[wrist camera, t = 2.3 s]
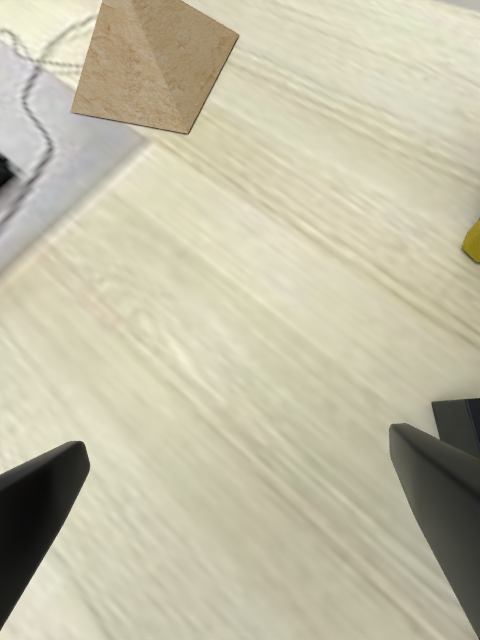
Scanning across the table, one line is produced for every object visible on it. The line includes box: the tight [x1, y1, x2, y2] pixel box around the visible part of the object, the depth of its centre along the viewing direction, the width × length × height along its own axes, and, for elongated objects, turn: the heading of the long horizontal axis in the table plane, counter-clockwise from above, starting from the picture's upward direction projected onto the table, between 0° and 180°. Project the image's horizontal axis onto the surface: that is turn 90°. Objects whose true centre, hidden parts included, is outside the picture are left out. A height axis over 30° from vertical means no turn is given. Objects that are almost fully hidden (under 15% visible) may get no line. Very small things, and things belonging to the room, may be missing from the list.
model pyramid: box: [70, 0, 239, 134], centre depth 33 cm, size 17×17×10 cm
